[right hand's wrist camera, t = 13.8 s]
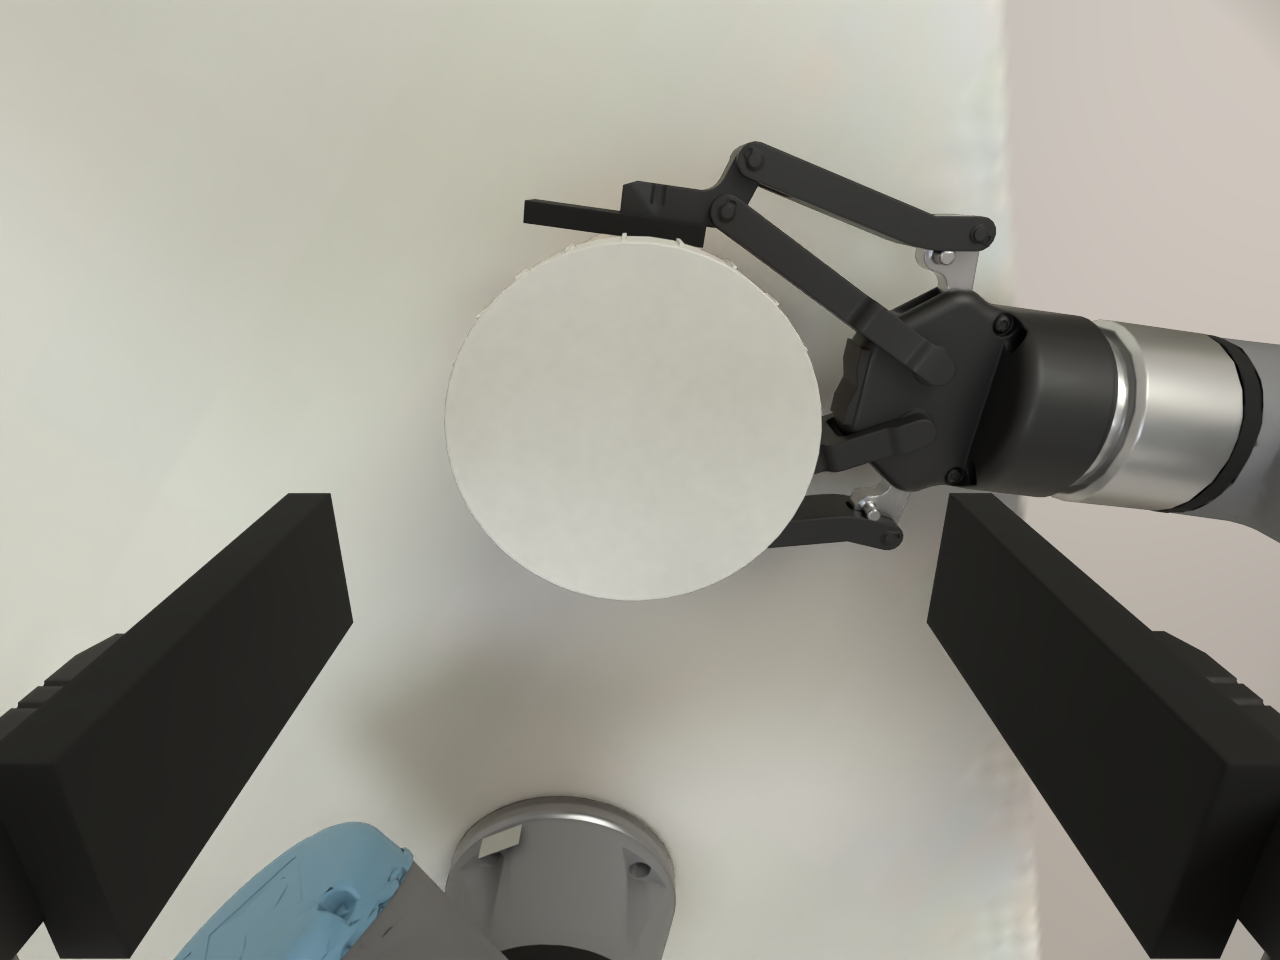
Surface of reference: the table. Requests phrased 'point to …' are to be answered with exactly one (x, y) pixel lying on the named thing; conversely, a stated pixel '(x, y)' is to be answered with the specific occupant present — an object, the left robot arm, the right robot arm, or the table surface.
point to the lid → (633, 419)
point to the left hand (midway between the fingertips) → (520, 339)
